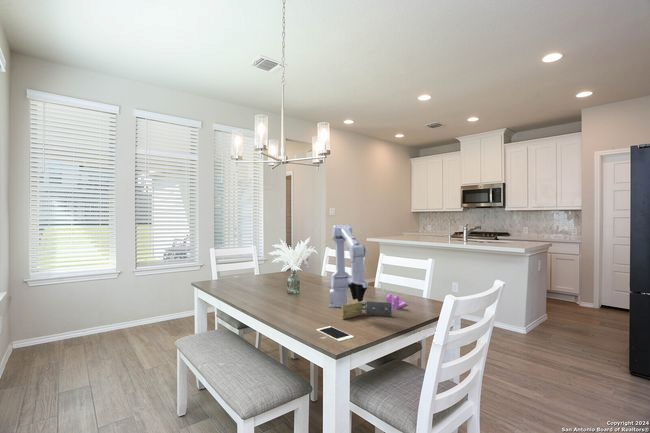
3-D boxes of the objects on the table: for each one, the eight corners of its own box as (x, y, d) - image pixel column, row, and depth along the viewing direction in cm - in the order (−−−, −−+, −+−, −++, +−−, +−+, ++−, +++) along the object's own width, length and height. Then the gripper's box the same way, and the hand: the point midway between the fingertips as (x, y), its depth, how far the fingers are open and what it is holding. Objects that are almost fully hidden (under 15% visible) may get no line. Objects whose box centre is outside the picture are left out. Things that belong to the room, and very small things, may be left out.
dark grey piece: (360, 314, 158) (360, 300, 158) (361, 313, 160) (361, 299, 160) (391, 316, 155) (391, 302, 155) (391, 315, 157) (391, 301, 157)
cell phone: (339, 342, 124) (339, 340, 124) (315, 330, 137) (315, 329, 137) (354, 338, 128) (354, 336, 128) (330, 327, 141) (330, 325, 141)
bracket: (395, 310, 167) (395, 296, 167) (386, 308, 170) (386, 294, 171) (407, 304, 177) (407, 292, 177) (398, 303, 180) (398, 290, 180)
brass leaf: (363, 312, 161) (363, 300, 161) (367, 313, 159) (366, 301, 159) (340, 318, 152) (340, 305, 152) (344, 319, 150) (344, 306, 150)
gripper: (342, 269, 154) (342, 297, 154) (358, 274, 141) (358, 305, 141) (354, 268, 157) (354, 296, 157) (371, 272, 144) (372, 303, 144)
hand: (357, 300), depth 149 cm, fingers open, 4 cm apart
